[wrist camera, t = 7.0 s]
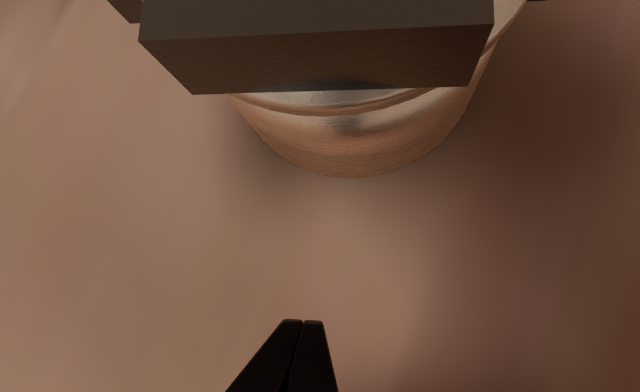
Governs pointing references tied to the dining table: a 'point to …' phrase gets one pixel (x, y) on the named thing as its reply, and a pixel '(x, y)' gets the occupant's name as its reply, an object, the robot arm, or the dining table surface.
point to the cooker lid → (323, 48)
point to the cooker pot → (354, 126)
